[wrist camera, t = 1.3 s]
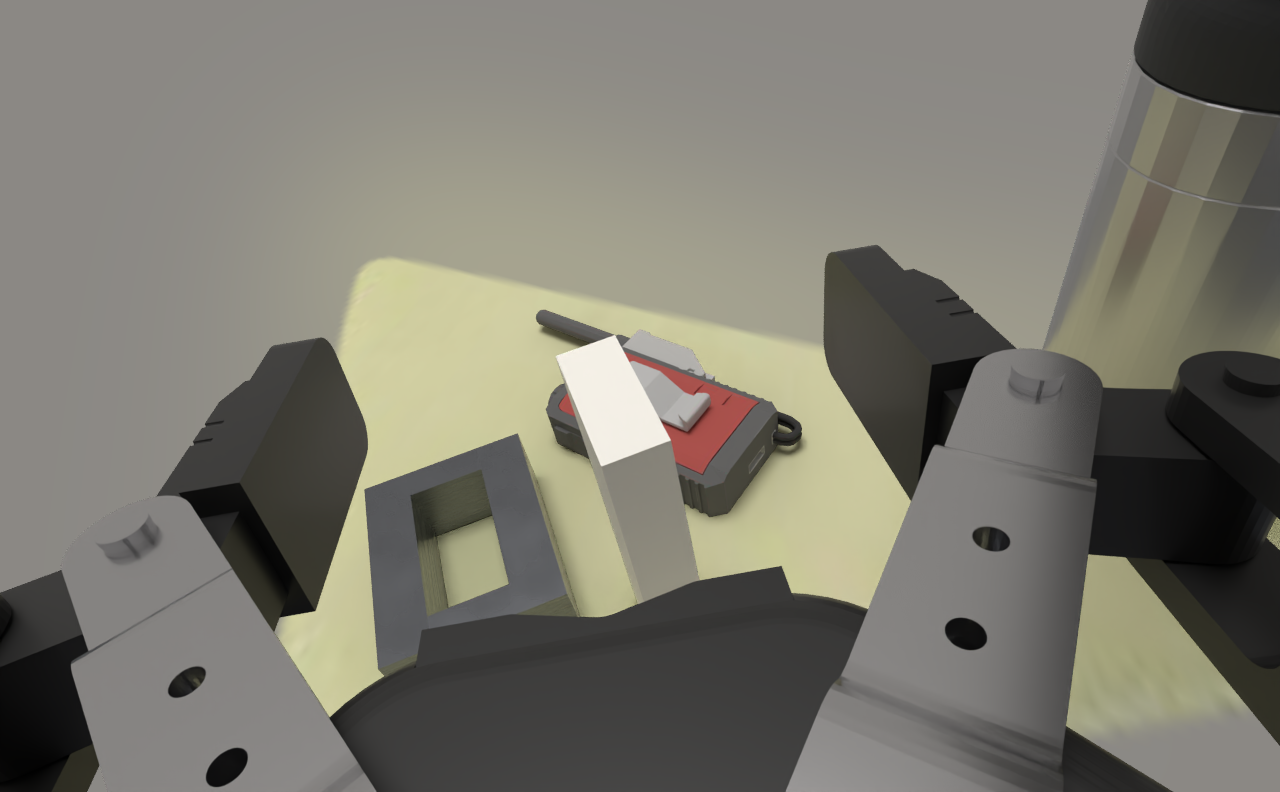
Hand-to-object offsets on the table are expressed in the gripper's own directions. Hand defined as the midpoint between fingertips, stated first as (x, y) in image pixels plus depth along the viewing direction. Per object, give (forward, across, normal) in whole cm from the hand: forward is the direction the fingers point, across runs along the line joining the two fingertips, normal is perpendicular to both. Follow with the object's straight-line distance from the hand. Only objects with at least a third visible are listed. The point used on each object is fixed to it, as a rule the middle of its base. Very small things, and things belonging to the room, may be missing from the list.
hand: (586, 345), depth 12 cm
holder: (+15, +8, +20) cm, 26 cm away
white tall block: (+10, -1, +21) cm, 23 cm away
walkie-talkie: (+24, -1, +19) cm, 31 cm away
